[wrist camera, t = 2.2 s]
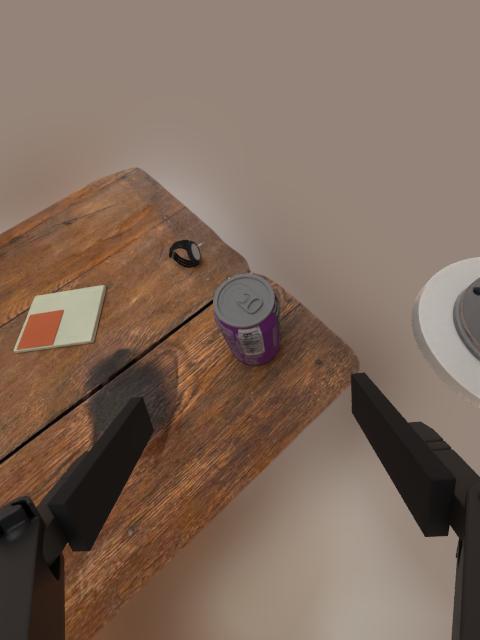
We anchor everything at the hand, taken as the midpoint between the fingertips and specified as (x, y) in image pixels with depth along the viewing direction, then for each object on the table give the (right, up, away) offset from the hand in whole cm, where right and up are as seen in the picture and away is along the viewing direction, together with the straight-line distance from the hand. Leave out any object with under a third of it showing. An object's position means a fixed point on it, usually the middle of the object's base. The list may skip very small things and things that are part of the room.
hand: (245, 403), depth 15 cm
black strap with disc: (-9, +16, +28) cm, 34 cm away
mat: (-31, +5, +27) cm, 42 cm away
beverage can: (+2, +2, +19) cm, 20 cm away
